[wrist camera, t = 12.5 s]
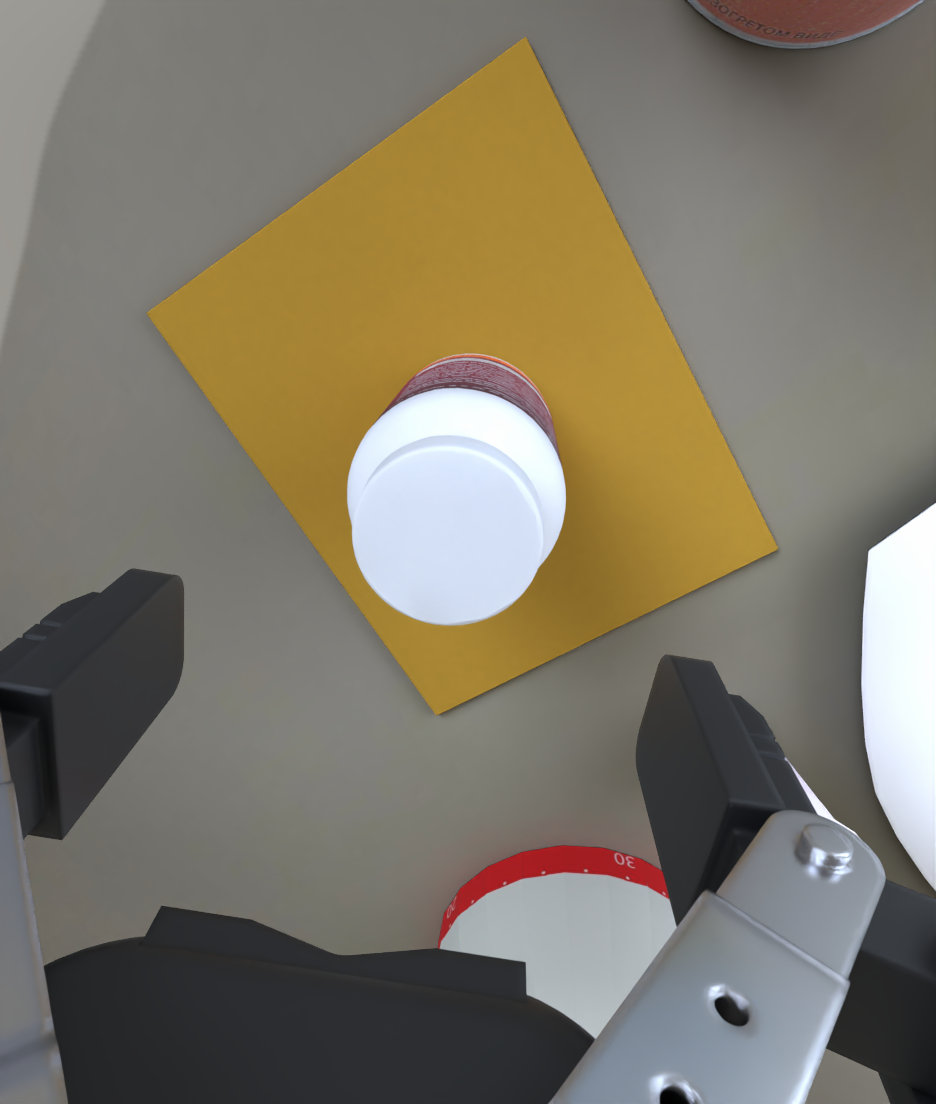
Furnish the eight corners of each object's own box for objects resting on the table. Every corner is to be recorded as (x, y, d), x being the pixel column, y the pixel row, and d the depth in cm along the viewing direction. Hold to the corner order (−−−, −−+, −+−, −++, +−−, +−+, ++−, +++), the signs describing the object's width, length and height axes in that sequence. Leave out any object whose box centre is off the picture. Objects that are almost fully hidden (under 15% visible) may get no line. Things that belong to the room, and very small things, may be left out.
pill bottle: (371, 372, 27) (284, 441, 17) (535, 333, 26) (548, 382, 16) (414, 526, 29) (359, 670, 19) (566, 495, 28) (596, 629, 18)
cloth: (149, 312, 27) (145, 313, 27) (525, 39, 23) (526, 35, 23) (436, 712, 33) (436, 716, 33) (776, 546, 29) (778, 549, 29)
